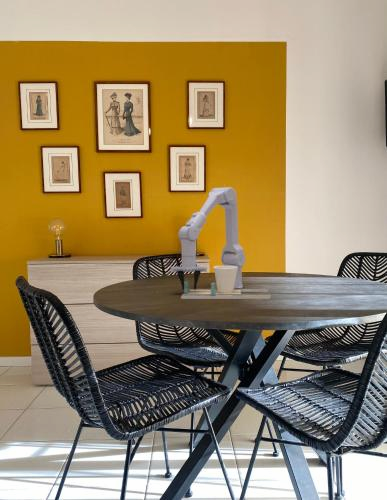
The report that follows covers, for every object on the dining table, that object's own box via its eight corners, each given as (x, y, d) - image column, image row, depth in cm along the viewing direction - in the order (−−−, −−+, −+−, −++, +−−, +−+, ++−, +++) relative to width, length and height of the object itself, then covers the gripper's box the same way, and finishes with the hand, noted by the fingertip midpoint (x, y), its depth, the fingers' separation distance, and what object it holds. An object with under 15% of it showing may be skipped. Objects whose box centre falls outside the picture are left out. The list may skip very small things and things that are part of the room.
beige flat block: (186, 291, 209) (185, 278, 208) (240, 291, 207) (240, 278, 207) (183, 296, 198) (183, 282, 197) (241, 296, 196) (241, 282, 196)
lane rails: (185, 291, 210) (185, 278, 209) (267, 291, 207) (267, 277, 207) (181, 299, 193) (180, 284, 192) (270, 299, 190) (270, 284, 190)
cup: (242, 294, 202) (243, 267, 201) (225, 297, 196) (225, 268, 195) (225, 291, 209) (225, 265, 209) (207, 293, 203) (208, 266, 202)
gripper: (169, 257, 199) (170, 291, 200) (206, 256, 197) (206, 291, 199) (171, 255, 206) (172, 288, 207) (207, 255, 204) (207, 288, 206)
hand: (189, 289), depth 203 cm, fingers open, 4 cm apart
